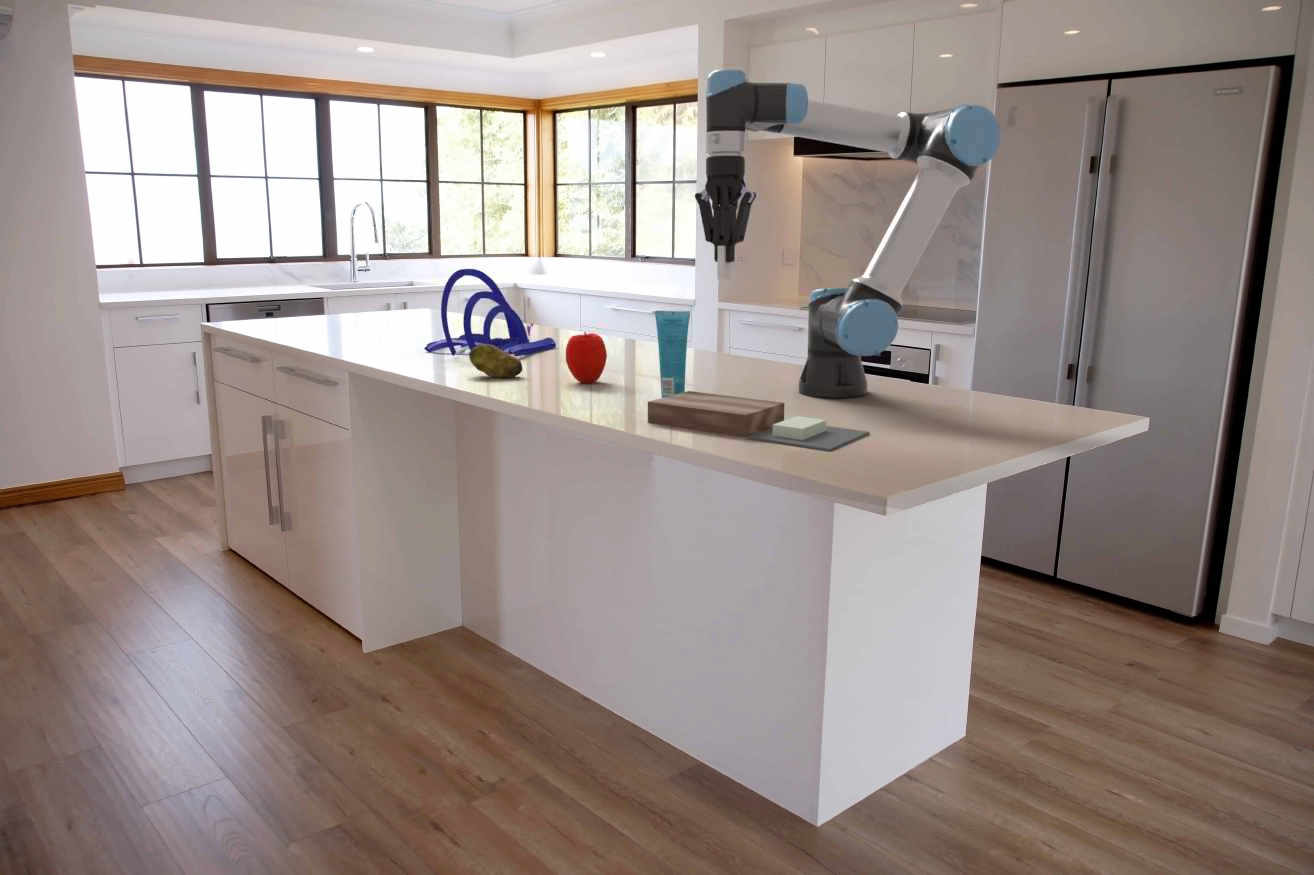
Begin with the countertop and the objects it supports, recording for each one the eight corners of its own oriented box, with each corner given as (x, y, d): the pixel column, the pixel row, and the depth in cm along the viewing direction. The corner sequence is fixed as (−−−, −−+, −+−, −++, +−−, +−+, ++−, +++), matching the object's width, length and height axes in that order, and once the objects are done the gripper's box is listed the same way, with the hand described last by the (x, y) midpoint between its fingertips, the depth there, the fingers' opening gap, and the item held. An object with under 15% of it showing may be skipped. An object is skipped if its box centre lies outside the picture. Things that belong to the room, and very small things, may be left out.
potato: (504, 381, 231) (502, 348, 229) (464, 377, 238) (463, 344, 236) (526, 376, 238) (525, 344, 236) (487, 372, 245) (486, 341, 243)
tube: (689, 398, 209) (689, 309, 205) (690, 402, 204) (690, 311, 200) (655, 398, 209) (655, 309, 205) (655, 402, 204) (654, 311, 200)
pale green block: (826, 420, 175) (825, 430, 175) (797, 416, 178) (796, 426, 179) (802, 428, 168) (802, 440, 168) (772, 424, 171) (772, 435, 172)
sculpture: (511, 360, 262) (500, 264, 257) (407, 365, 275) (396, 274, 271) (571, 347, 293) (562, 261, 289) (475, 352, 307) (466, 270, 302)
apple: (584, 377, 236) (583, 327, 234) (616, 381, 231) (615, 330, 228) (557, 383, 228) (556, 331, 226) (589, 387, 223) (588, 334, 220)
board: (688, 410, 196) (688, 390, 195) (784, 423, 183) (784, 402, 182) (647, 422, 185) (647, 401, 184) (746, 436, 172) (746, 415, 171)
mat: (791, 423, 184) (791, 421, 183) (869, 433, 174) (869, 431, 174) (747, 438, 171) (747, 436, 171) (829, 451, 162) (829, 448, 162)
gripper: (686, 156, 187) (686, 278, 192) (744, 153, 179) (742, 281, 184) (707, 157, 192) (707, 276, 198) (764, 155, 185) (762, 279, 190)
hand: (724, 278), depth 191 cm, fingers closed
